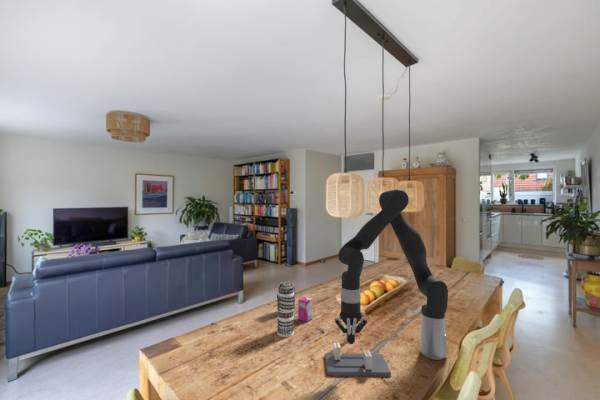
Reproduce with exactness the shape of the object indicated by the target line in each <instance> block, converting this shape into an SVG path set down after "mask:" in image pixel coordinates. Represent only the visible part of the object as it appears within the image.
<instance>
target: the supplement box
mask: <svg viewBox="0 0 600 400" xmlns="http://www.w3.org/2000/svg"><path fill="white" fill-rule="evenodd" d="M297 303H298V304H297V305H298V306H297V310H298V311H297V312H298V318H297V319H298V321H300V322H301V321H302V322H303V321H304V322H303V323H306V324H307V323H308V322H310V321H312V320H313V298H312V297H311V298H310V297H307V296H303V297H301V298H299V299H298V300H297Z"/></svg>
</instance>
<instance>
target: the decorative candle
mask: <svg viewBox="0 0 600 400" xmlns="http://www.w3.org/2000/svg"><path fill="white" fill-rule="evenodd" d="M294 285H295V284H293V283H292V282H291V281H281V282H280V284H278V285H277V287H278V288H279V291H277V294H276V299H277V301H276V302H277V303H276V305H277V306H276V307H277V312H278V314H277V319H276V320H277V324H276V325H277V326H276V331H277V335H278V336H279V337H283V338H289V337H291V336H293V335H294V334H295V316H294V308H296V302H295V303H293V302H294V301H296V295H295V296H294V291H293V290H294V288H293V287H294ZM294 298H295V299H294ZM278 304H279V305H278ZM294 305H295V307H294Z"/></svg>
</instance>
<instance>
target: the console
mask: <svg viewBox="0 0 600 400" xmlns="http://www.w3.org/2000/svg"><path fill="white" fill-rule="evenodd" d="M363 355H364V353H341V360H335V359H334V354H333V353H327V352H325V353H324V359H325V365H326V371H327V372H326V373H327V376H331V377H332V376H335V377H337V376H338V377H340V376H342V377H343V376H344V377H347V376H348V377H392V372H391V370H390V367H389V365H388V363H387V362H386V360H385V358H384V355H383V354H382V353H371V355H372V370H366V369H365V366H364V363H363Z"/></svg>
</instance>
